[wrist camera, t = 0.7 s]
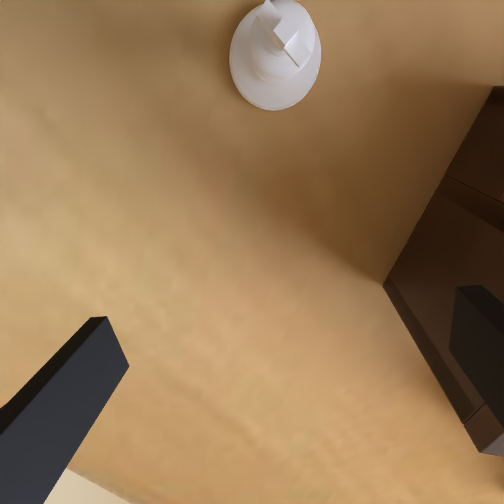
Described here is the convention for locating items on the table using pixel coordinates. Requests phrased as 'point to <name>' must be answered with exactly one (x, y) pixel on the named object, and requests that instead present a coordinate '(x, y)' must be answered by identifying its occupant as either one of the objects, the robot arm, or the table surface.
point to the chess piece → (275, 55)
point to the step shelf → (458, 263)
